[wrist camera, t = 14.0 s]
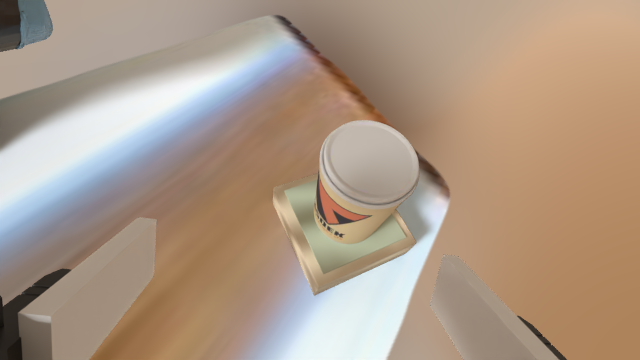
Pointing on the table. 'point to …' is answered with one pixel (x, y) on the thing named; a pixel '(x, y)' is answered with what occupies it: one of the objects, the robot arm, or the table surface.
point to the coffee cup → (362, 179)
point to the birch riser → (329, 256)
